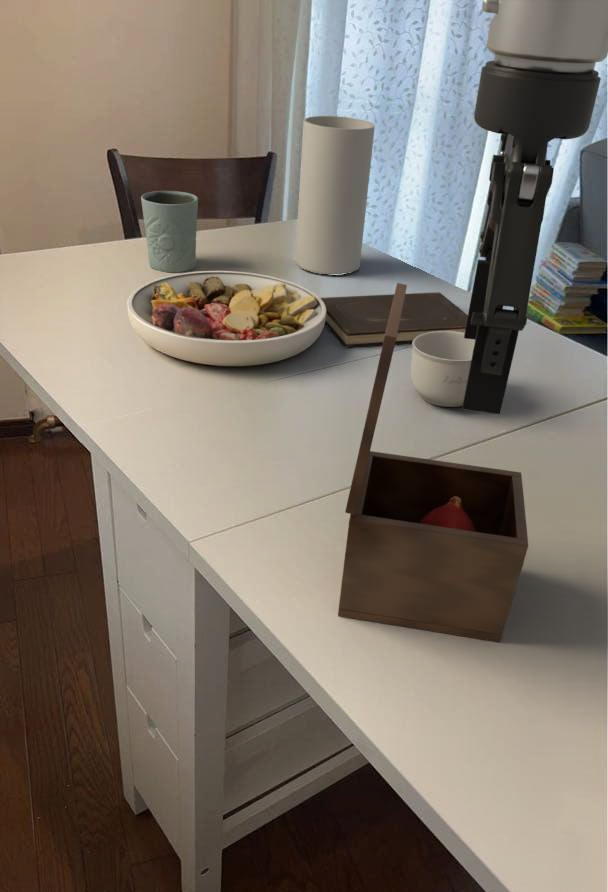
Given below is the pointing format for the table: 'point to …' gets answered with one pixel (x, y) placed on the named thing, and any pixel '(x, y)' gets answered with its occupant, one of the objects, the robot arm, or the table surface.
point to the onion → (449, 516)
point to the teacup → (441, 366)
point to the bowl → (226, 317)
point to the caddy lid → (376, 397)
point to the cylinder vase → (333, 193)
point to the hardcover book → (369, 315)
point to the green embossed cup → (170, 229)
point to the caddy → (434, 547)
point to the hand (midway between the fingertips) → (480, 371)
